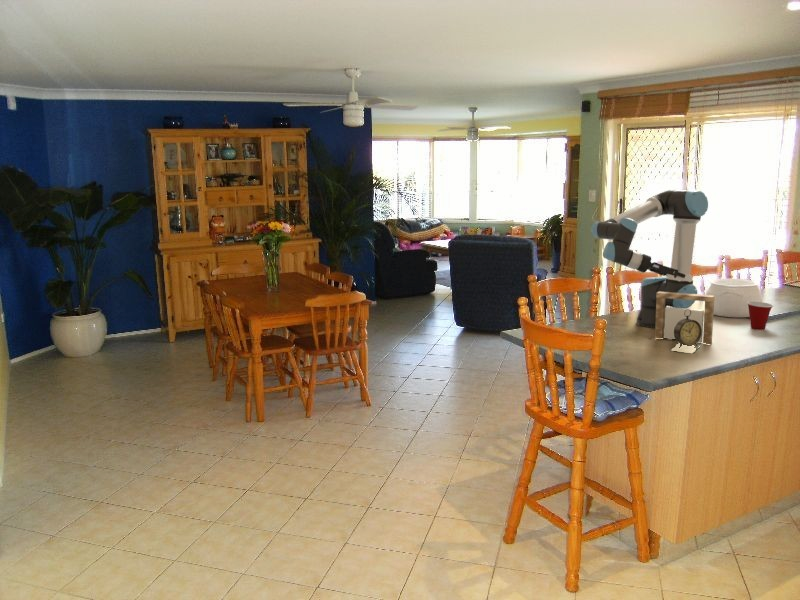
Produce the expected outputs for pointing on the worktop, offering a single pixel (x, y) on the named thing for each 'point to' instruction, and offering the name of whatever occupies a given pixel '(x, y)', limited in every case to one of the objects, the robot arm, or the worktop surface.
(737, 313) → the white pet bowl
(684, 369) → the worktop surface
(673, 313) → the door
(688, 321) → the alarm clock
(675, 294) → the door frame
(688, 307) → the robot arm
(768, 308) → the plastic cup
